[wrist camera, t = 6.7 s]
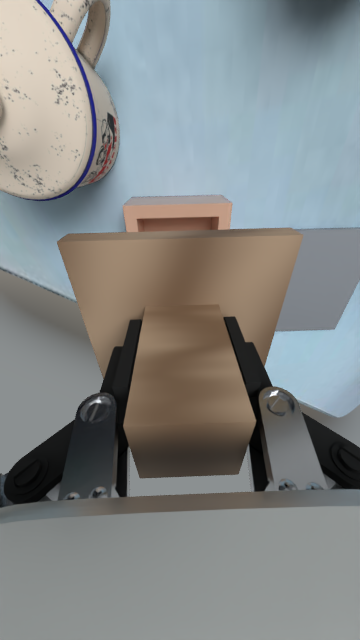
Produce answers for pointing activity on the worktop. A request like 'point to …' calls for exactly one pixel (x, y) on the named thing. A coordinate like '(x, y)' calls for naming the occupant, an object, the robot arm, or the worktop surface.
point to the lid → (183, 333)
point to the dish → (177, 213)
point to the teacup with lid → (53, 98)
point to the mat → (321, 279)
